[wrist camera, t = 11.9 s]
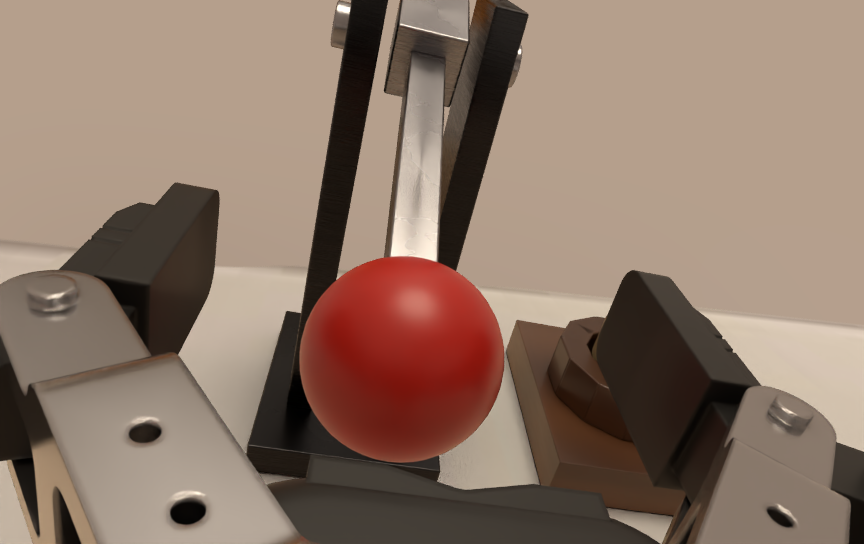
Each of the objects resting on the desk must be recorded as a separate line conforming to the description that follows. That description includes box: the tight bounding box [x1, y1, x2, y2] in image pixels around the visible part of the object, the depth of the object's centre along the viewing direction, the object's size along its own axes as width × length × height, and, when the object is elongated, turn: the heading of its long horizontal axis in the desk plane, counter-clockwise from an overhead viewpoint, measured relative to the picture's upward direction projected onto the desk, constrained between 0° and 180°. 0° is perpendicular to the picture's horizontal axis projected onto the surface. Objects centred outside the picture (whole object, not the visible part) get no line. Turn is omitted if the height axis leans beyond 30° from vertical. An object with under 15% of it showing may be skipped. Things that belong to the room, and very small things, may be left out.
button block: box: [506, 317, 686, 516], centre depth 29 cm, size 10×8×4 cm
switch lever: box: [300, 0, 504, 463], centre depth 16 cm, size 15×4×4 cm, turn 4°
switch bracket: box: [246, 0, 528, 482], centre depth 23 cm, size 9×7×17 cm
